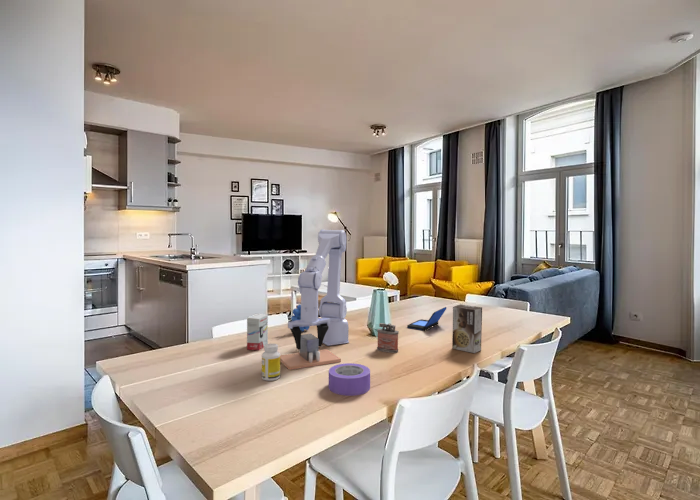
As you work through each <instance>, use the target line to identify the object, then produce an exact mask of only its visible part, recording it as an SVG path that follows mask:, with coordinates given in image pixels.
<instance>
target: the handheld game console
mask: <svg viewBox="0 0 700 500" xmlns="http://www.w3.org/2000/svg"><path fill="white" fill-rule="evenodd" d="M446 311H447V307H446V306H445V307H443V308H441V309H438V310H436V311H434V312H433V313H432V314H431V315H430V317H429V319H418V320H416V321H414V322H413V321H412V322H411V323H409V324H407V325H406V327H407V328H408V329H412V330H418V331H423V330H424V332H425V330H426V331H428V330H429V328H430V329H431V328H433V327H432V326H434V327H435V325H436V326H437V324H438V325H439V321H440V319H441V318H442V317H443V315H444V313H445V312H446ZM427 329H428V330H427Z"/></svg>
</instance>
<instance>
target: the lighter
mask: <svg viewBox="0 0 700 500" xmlns="http://www.w3.org/2000/svg"><path fill="white" fill-rule="evenodd" d="M378 327H380V328H377V330H376V333H377V347H376V350H377V351H379V352H384V353H393V354H394V353H395V354H396V353H399V334H400V333H399V331H398V330H396V324H392V323H385V322H380V323H379V324H378Z"/></svg>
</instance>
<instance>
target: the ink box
mask: <svg viewBox="0 0 700 500" xmlns="http://www.w3.org/2000/svg"><path fill="white" fill-rule="evenodd" d="M268 316H269V314H265V313H254V314H253V315H250V316H248V317H247V318H246V350H247V351H248V350H249V351H260V350H262V349H264V345H266V344H269V341H268V339H269V335H268V334H269V332H268V331H269V330H268V329H269V327H268V326H269V321H268V320H269V317H268Z"/></svg>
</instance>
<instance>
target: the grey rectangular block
mask: <svg viewBox="0 0 700 500" xmlns="http://www.w3.org/2000/svg"><path fill="white" fill-rule="evenodd" d="M319 350H320V346H319V339H318V336H317V337H316V336H315V335H314V334H312V333H305V334H301V349H300V356H302V357H303V358H304V359H305V360H306V361H309V353H310V352H312V353H313V360H316V352H317V351H319Z"/></svg>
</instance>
